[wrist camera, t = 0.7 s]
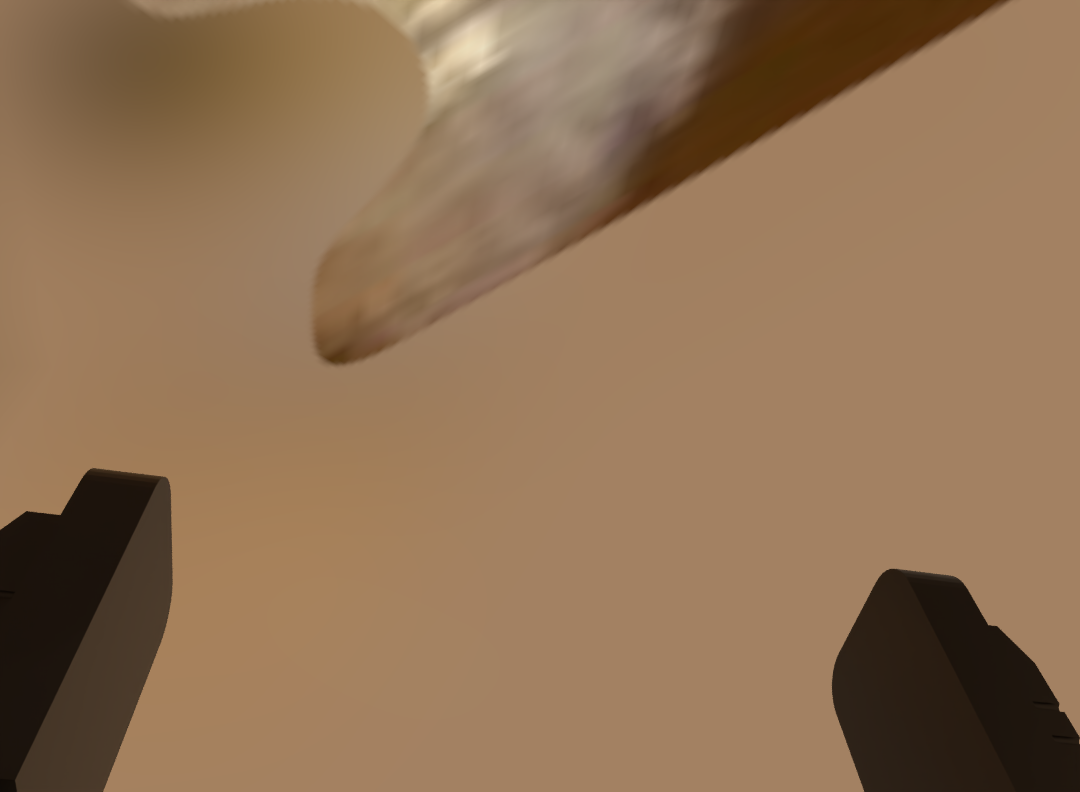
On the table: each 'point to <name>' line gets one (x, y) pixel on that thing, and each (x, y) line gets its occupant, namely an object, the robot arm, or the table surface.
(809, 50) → the table surface
